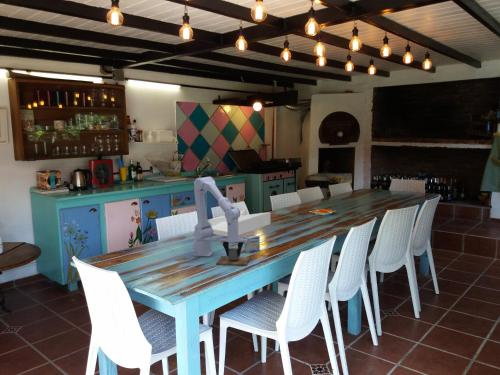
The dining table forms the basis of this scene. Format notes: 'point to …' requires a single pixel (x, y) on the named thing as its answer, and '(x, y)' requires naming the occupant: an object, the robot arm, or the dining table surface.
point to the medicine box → (252, 244)
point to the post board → (233, 261)
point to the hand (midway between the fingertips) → (233, 255)
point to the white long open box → (240, 223)
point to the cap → (233, 254)
